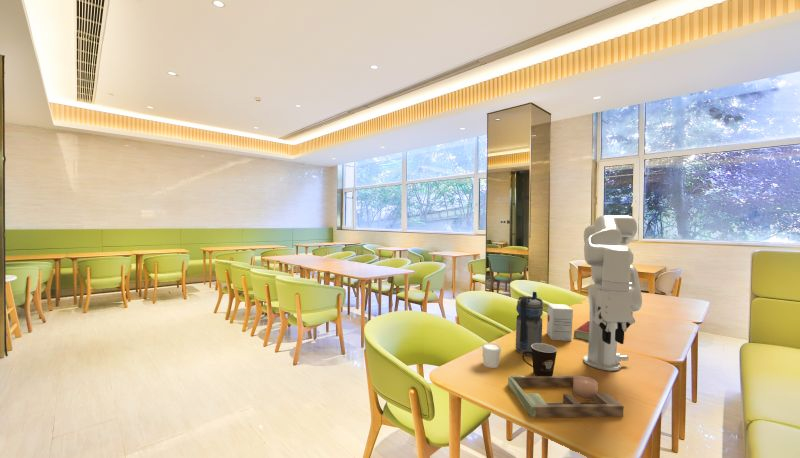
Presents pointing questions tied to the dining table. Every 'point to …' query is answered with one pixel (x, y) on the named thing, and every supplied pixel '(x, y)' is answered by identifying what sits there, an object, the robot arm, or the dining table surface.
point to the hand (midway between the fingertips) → (612, 341)
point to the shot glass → (491, 355)
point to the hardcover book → (582, 331)
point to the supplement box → (559, 322)
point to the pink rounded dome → (585, 387)
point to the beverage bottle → (528, 323)
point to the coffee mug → (542, 359)
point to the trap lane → (570, 405)
